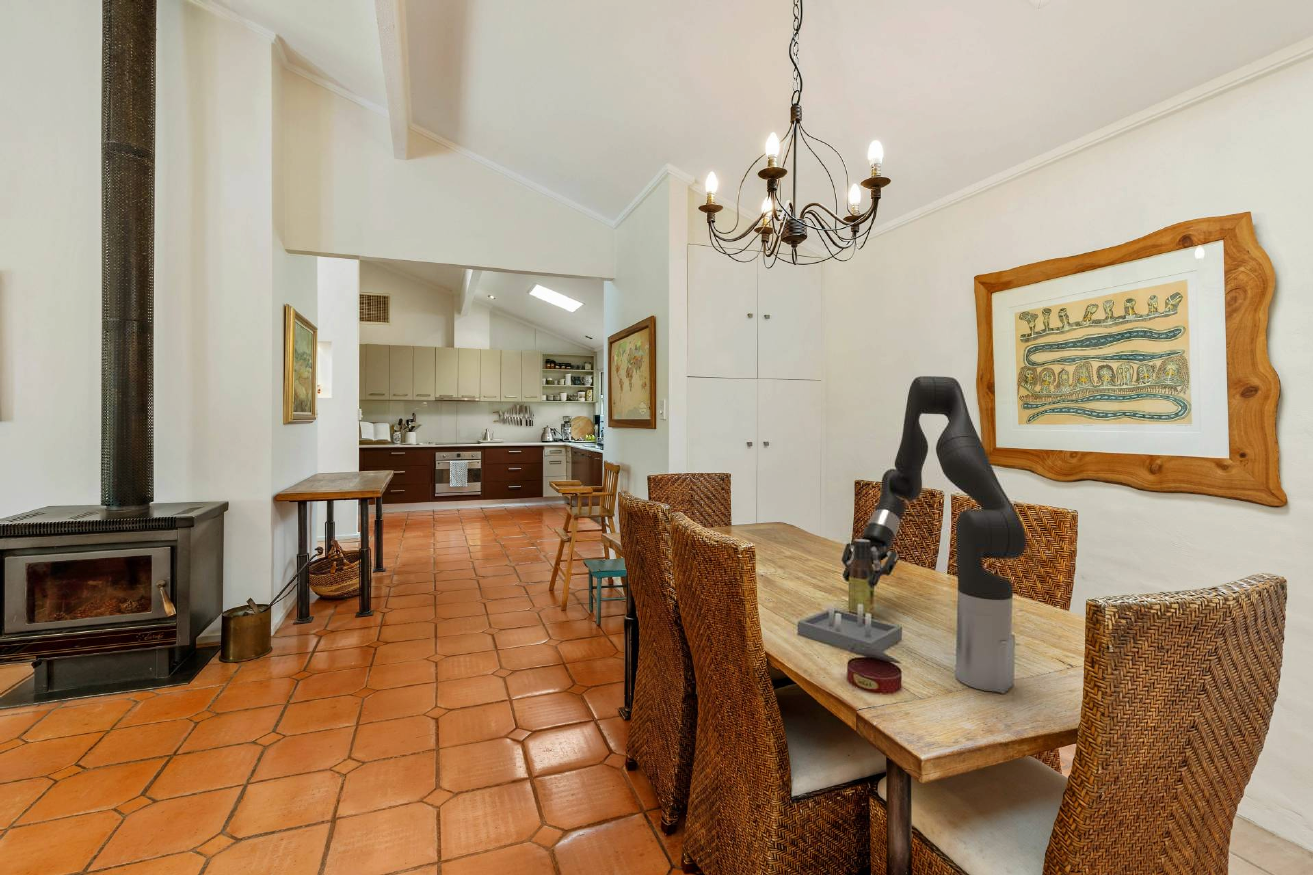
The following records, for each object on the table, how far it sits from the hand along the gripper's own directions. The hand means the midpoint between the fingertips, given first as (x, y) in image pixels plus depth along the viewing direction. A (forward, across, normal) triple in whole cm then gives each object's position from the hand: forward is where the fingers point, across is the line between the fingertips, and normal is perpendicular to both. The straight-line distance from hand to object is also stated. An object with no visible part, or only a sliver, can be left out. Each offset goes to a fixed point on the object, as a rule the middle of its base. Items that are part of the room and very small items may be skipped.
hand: (858, 582), depth 147 cm
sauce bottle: (+6, 0, +8) cm, 10 cm away
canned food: (+29, +20, -15) cm, 38 cm away
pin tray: (+16, +5, -3) cm, 17 cm away
